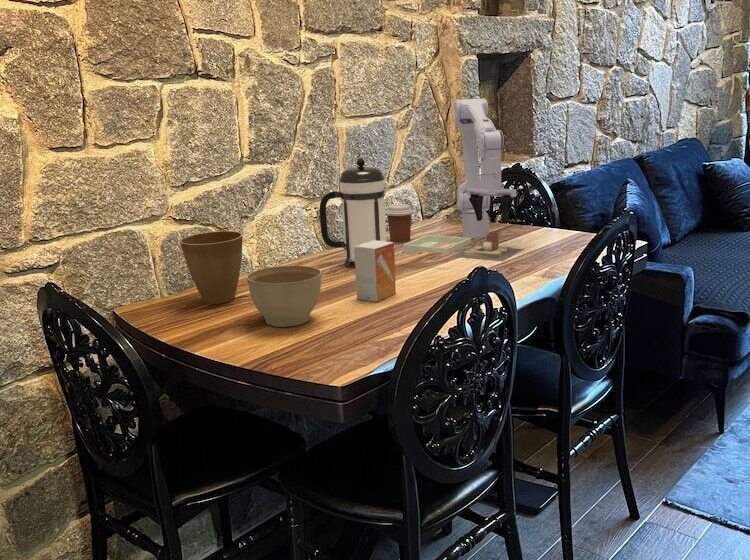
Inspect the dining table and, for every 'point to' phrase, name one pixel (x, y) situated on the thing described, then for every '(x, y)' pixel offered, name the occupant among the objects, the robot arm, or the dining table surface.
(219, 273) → the plant pot
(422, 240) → the sage tray
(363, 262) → the small box
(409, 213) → the coffee cup
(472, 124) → the robot arm
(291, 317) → the planter bowl
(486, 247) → the stake board
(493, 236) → the tan square frame
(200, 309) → the dining table surface
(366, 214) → the coffee press
